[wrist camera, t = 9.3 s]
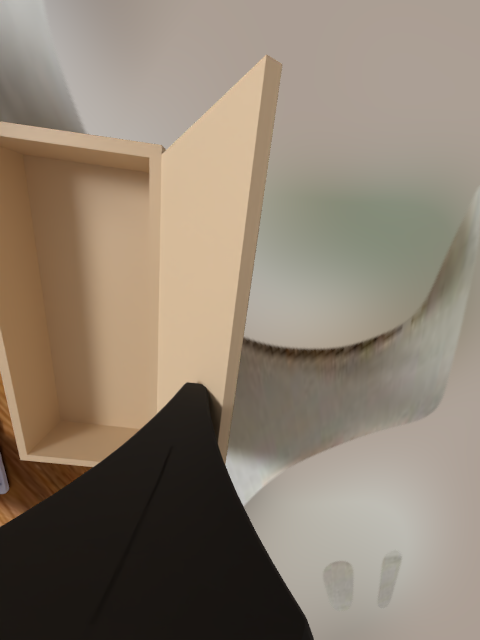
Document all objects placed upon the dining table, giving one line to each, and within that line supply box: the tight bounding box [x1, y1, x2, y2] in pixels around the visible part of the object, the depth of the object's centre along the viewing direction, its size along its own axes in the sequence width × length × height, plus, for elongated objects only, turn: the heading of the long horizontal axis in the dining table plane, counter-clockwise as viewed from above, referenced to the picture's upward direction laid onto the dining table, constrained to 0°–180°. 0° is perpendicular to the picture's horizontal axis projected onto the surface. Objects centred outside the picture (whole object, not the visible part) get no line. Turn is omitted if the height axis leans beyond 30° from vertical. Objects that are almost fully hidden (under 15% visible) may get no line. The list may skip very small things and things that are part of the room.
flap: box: [157, 55, 282, 463], centre depth 12 cm, size 21×9×1 cm
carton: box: [0, 121, 166, 467], centre depth 17 cm, size 22×10×4 cm, turn 173°
